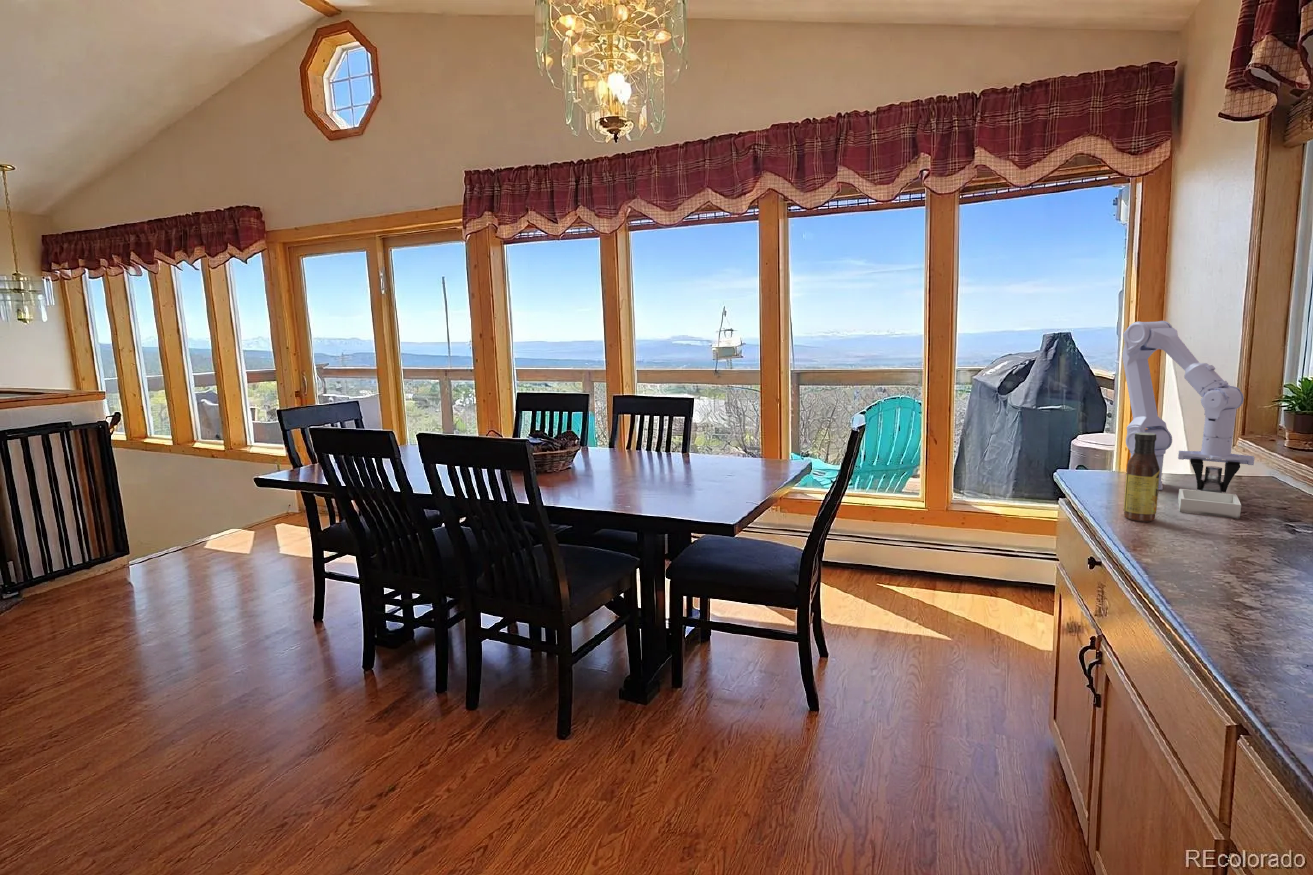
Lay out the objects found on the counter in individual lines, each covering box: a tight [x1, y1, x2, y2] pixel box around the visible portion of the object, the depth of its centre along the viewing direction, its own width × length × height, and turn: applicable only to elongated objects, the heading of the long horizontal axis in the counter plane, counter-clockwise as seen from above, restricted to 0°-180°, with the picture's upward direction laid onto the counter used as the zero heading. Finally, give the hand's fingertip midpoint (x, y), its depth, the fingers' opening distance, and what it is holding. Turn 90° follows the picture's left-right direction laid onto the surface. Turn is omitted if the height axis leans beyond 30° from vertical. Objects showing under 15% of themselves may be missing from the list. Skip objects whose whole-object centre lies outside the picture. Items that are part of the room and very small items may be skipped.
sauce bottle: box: [1123, 433, 1160, 522], centre depth 160 cm, size 7×6×20 cm
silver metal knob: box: [1199, 465, 1223, 493], centre depth 173 cm, size 4×4×7 cm
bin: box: [1177, 488, 1242, 520], centre depth 167 cm, size 11×11×3 cm
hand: (1211, 490), depth 174 cm, fingers closed on silver metal knob, 4 cm apart
